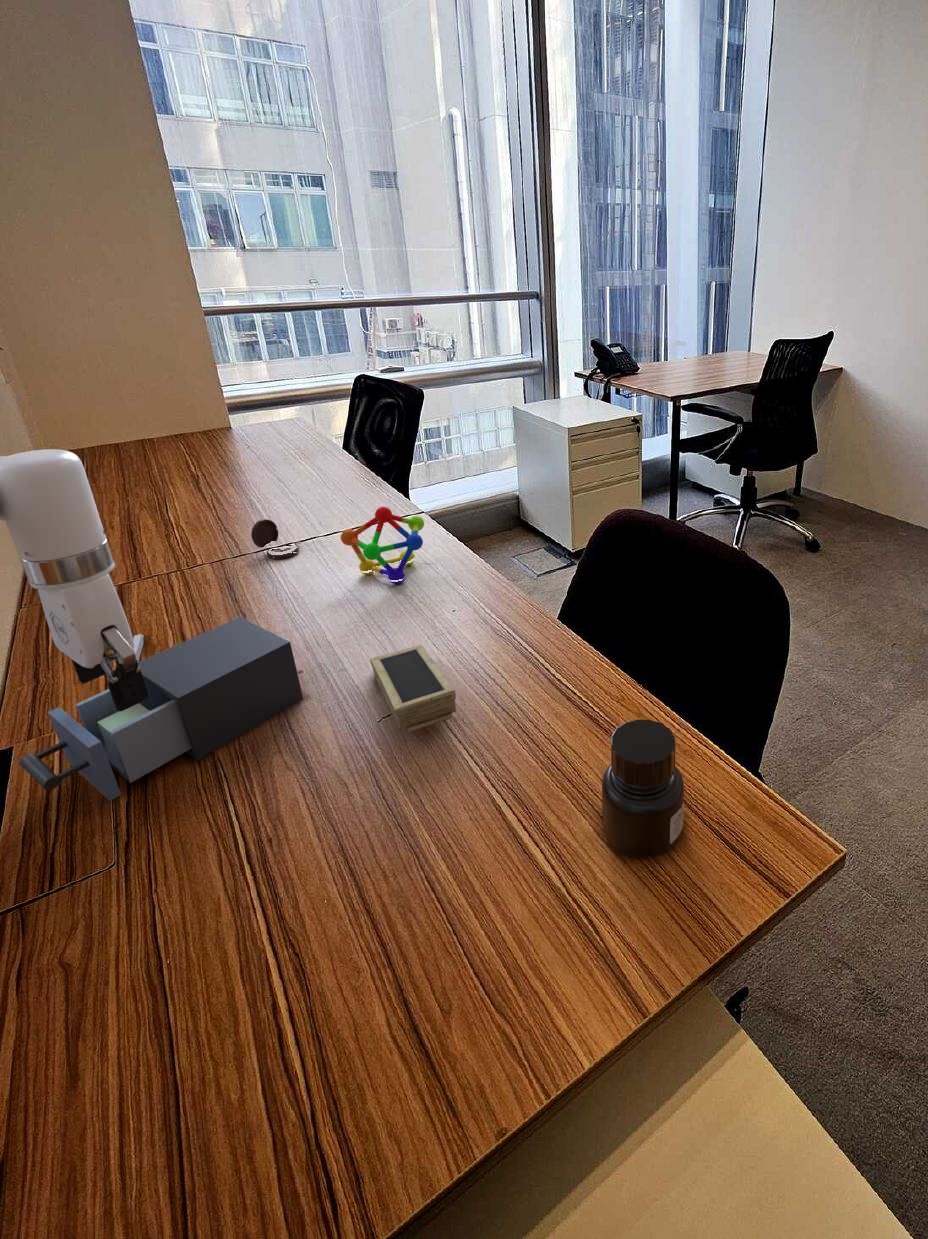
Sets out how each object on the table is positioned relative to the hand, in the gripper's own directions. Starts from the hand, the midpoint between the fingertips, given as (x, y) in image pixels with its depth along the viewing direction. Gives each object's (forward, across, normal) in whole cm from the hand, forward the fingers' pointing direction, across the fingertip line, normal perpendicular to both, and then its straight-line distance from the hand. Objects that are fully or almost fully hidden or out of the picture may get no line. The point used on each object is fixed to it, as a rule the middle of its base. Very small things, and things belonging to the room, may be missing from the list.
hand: (114, 690), depth 79 cm
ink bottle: (+10, +59, +25) cm, 65 cm away
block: (+9, 0, 0) cm, 9 cm away
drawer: (+10, 0, -1) cm, 10 cm away
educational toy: (+10, -13, +51) cm, 54 cm away
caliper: (+11, -22, +9) cm, 26 cm away
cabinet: (+11, 0, +11) cm, 15 cm away
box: (+11, +19, +27) cm, 35 cm away
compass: (+11, -43, +46) cm, 64 cm away
